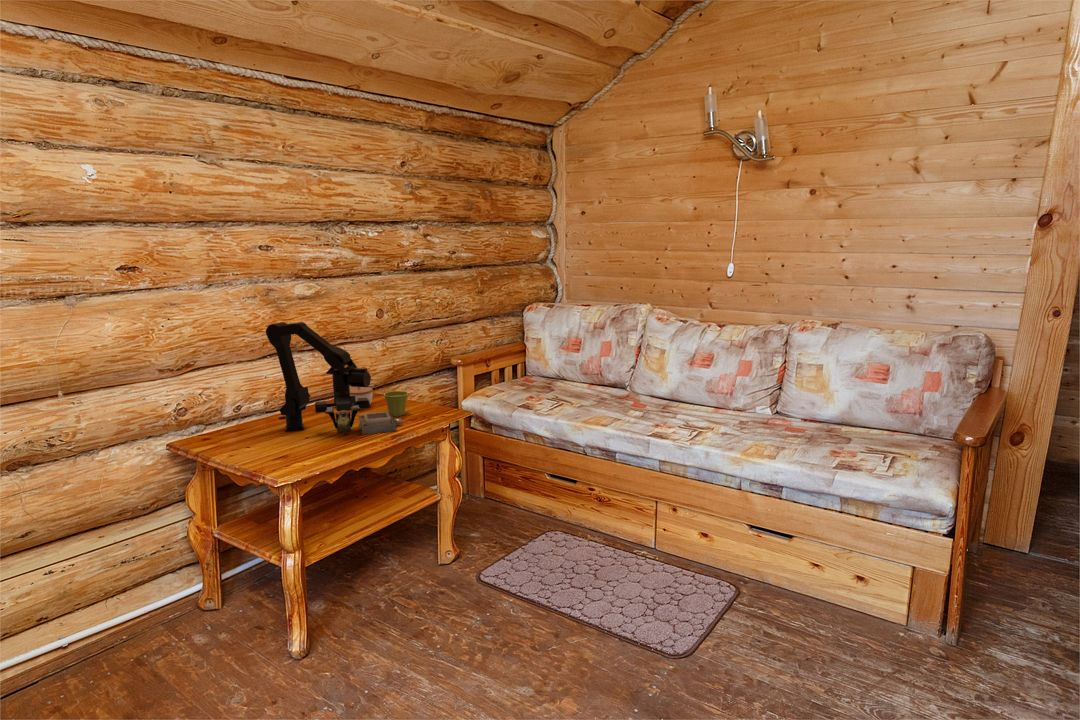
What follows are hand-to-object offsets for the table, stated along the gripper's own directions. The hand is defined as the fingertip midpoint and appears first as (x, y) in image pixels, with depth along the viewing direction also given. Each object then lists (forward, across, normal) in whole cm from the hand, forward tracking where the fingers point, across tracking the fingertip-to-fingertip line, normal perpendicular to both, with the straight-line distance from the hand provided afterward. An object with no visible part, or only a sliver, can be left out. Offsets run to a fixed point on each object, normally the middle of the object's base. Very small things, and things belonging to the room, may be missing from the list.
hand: (343, 427), depth 233 cm
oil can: (+1, 0, 0) cm, 1 cm away
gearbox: (+1, +14, +1) cm, 14 cm away
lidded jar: (+2, +8, +32) cm, 33 cm away
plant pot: (+2, +21, +16) cm, 26 cm away
